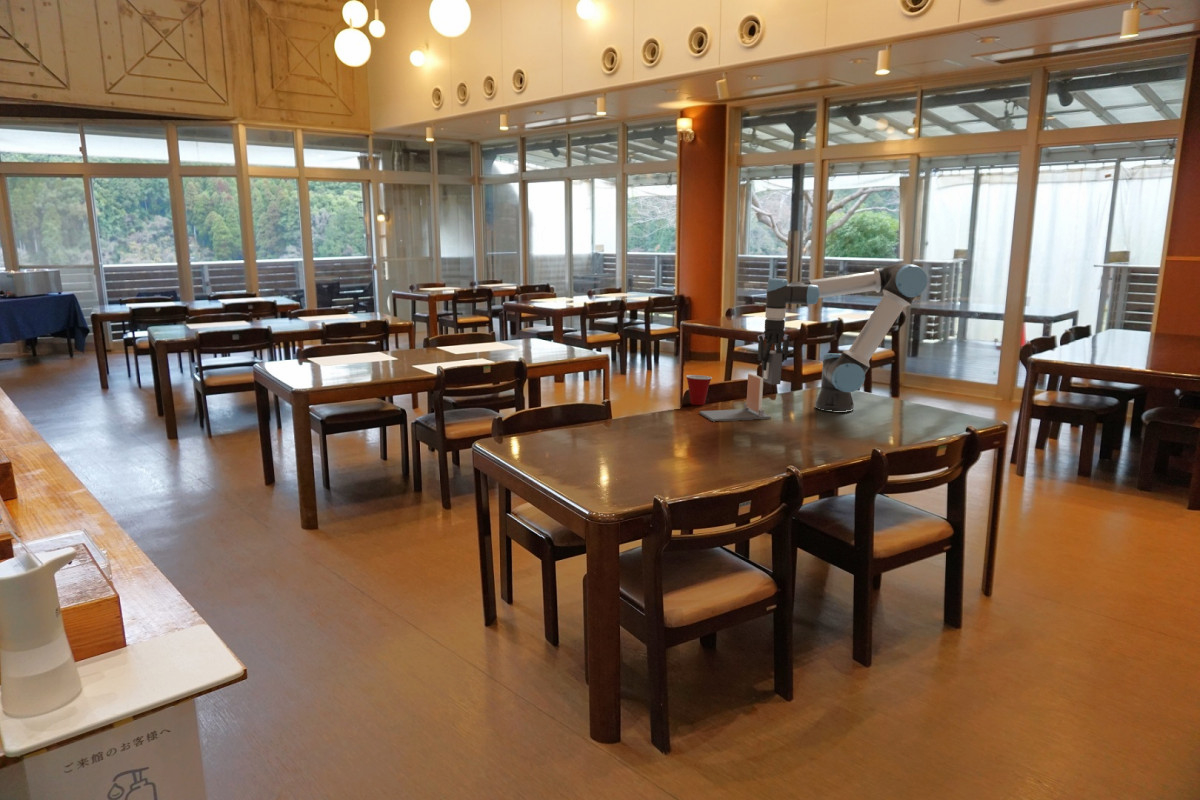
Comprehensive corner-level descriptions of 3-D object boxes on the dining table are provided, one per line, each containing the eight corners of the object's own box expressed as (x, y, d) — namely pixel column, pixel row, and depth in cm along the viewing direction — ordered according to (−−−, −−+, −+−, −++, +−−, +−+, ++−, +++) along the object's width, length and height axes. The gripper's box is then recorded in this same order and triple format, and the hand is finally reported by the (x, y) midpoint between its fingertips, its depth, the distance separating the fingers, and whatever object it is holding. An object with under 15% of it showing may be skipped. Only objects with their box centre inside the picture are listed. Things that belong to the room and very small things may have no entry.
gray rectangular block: (771, 380, 312) (772, 350, 310) (780, 384, 305) (782, 353, 302) (761, 380, 311) (763, 350, 309) (770, 384, 304) (772, 354, 301)
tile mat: (754, 410, 317) (755, 402, 316) (770, 419, 303) (771, 410, 303) (699, 413, 311) (699, 404, 310) (713, 422, 297) (713, 413, 297)
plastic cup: (715, 403, 330) (716, 375, 327) (704, 407, 321) (705, 379, 318) (691, 399, 336) (692, 372, 333) (680, 404, 327) (681, 376, 324)
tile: (749, 407, 314) (751, 372, 311) (761, 413, 304) (763, 378, 301) (745, 407, 314) (747, 373, 311) (757, 413, 303) (759, 378, 300)
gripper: (790, 317, 308) (786, 375, 313) (750, 318, 304) (747, 377, 309) (799, 319, 301) (795, 379, 306) (759, 320, 297) (755, 380, 302)
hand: (771, 378), depth 308 cm, fingers closed on gray rectangular block, 4 cm apart
